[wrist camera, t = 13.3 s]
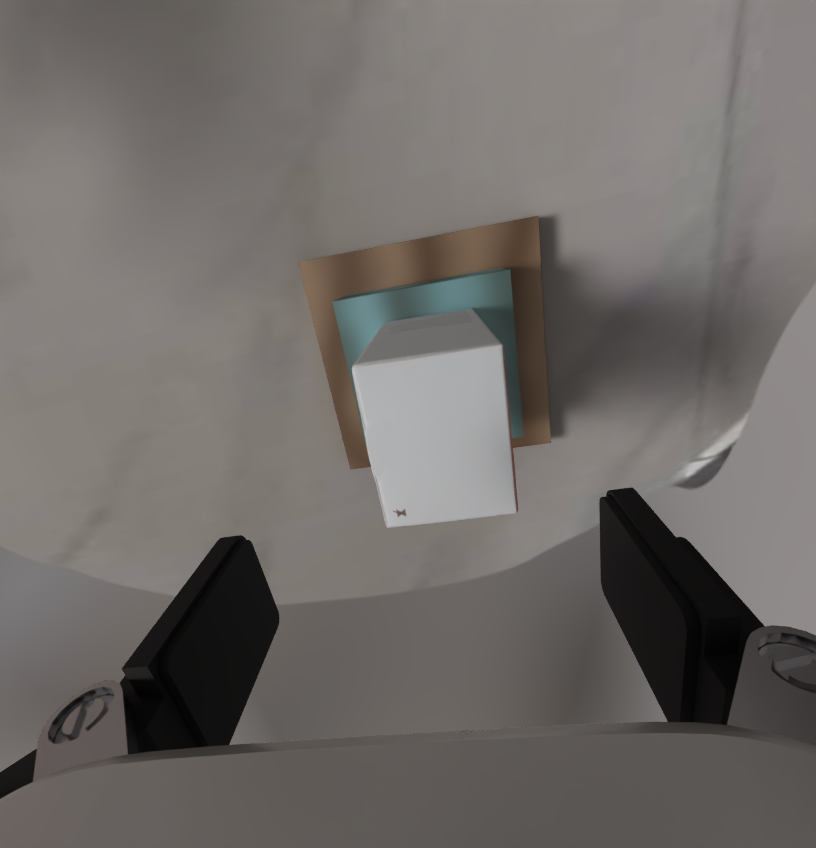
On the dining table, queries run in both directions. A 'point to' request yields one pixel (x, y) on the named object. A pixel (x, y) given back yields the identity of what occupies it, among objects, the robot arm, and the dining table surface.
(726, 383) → the dining table surface
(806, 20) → the dining table surface
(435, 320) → the small box
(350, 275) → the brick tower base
